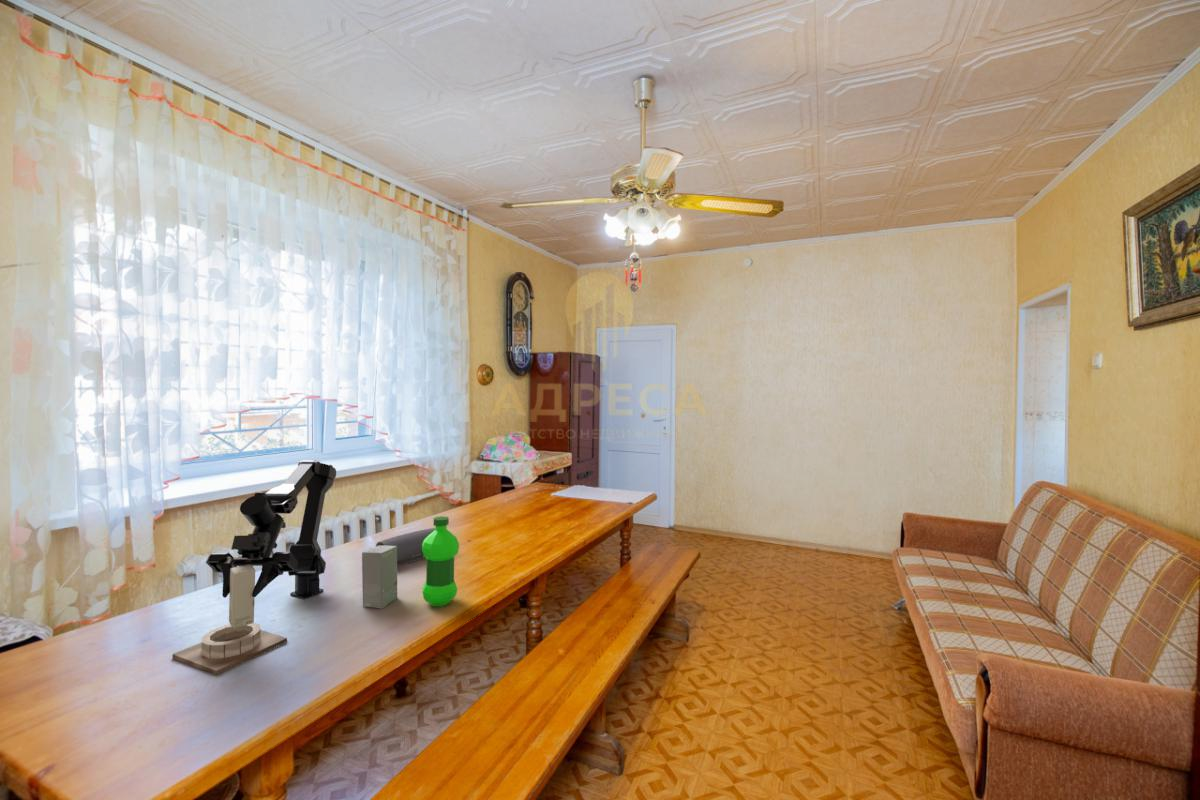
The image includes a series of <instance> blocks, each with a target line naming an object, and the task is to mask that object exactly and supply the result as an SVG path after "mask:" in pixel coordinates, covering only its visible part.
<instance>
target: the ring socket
mask: <svg viewBox="0 0 1200 800" xmlns="http://www.w3.org/2000/svg"><path fill="white" fill-rule="evenodd" d="M285 642H286V643H288V637H285V636H281V635H280V634H275V633H272V632H269V631H266V630H263V629H261V625H260V623H256V622H254V623H252V624H248V625H244V626H240V627H236V628H232V627H231V625H230V624H226V625H222V626H219V627H217V628H215V629H211V630H210V631H208V632H207V633H206V634H204V635H203V636H202V637H201V642H199V643H197V644H196V643H195V644H194V645H191V646H189V647H186V648H184V649H181V650H179V651H176V652H174V653H172V659H173V660H176V661H178V662H181V663H183V664H186V665H189V666H191V667H194V668H196V669H199V670H202V671H204V672H207V673H209V674H212V675H214V676H218V675H219V674H222V673H224V672H226V671H229V670H231V669H233V668H235V667H237V666H239V665H241V664H243V662H244V663H245V662H248V661H249V660H252V659H254V658H257V657H258V656H261V655H263V654H264V652H265V653H266V652H269V651H270V649H271V650H273V649H275V648H277V647H279V646H278V645H280V646H282V645H284V644H286V643H285ZM283 643H284V644H283ZM281 644H282V645H281ZM276 646H277V647H276ZM274 647H275V648H274ZM262 653H263V654H262Z"/></svg>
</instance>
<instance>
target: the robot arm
mask: <svg viewBox="0 0 1200 800" xmlns="http://www.w3.org/2000/svg"><path fill="white" fill-rule="evenodd" d="M336 469H337V468H335V467H334V466H333V465H332V464H326V463H323V462H320V461H317V460H303V459H302V460H301V461H299V462H298V464H297V467H296V468H295V469H294V470H293V471H292V472H291V473H290V475H289V476H288V477H287V478H286V479H285V481H284V482H283V483H282V484H280V485H279V486H276V487H273V488H270V489H269V490H268V491H267V492H264V491H256V492H255V493H254V495H252V496H250V497H248V498H246V499H245V500H243V502H241V504H240V506H239V510H240V511H239V512H240V513H241V514H242V515H243V517H244V518H245V520H247V521H248V522H249V524H250V525H251V526H253V528H254V529H253V530H252V533H248V534H247V535H243V534H242V535H241V534H239V535H234V536H233V541H232V544H231V548H230V549H231V551H234V550H237V554H238V555H239V556H241V557H234V556H233V555H232V554H231V553H230V552H226V551H225V552H223V551H222V552H219V551H218V552H212V553H210V554H209V555H208V557H207V559H206V561H205V564H206V565H208V566H209V567H210V568H211V569H212V570H213V571H214V572H215V573H218V574H219V573H220V574H222V597H223V598H227V597H228V595H230V569H231V568H234V567H240V566H246V565H252V566H253V567H254V566H256V567H257V566H259V567H261V571H260V575H259V577H258V579H257V582H255V588H254V590H253V593H252V596H253V597H254V598H256V597H257V596H258V595H259V594H260V593H261V592H262V591H263V590H264V589H265V588H266V587H267V586H268V585H269V584H270V583H271V582H273V581H274V580H275V579H276V578H277V577H279V576H282V575H284V573H287V574H288V576H289V577H292V576H295V577H294V584H295V585H294V591H293V592H290V593H289V594H290V596H293V597H295V598H296V597H297V598H300V599H307V598H310V597H312V596H315V595H318V594H320V593H323V592H324V588H320V580H321V579H320V575H322V574H324V573H325V571H326V568H327V567H326V564H327V563H326V561H325V560H324V558H323V557H322V555H321V554H322V549H321V546H320V545H319V542H318V538H319V537H318V536H319V531H320V526H321V521H322V520H321V519H322V514H323V508H324V504H325V502H324V501H325V497H326V494H327V493H328V491H329V490H330V489H331V488H332V487H333V484H334V480H335V479H336V477H337V470H336ZM305 487H306V490H307V495H306V501H305V506H304V512H303V518H302V521H301V522H302V523H301V527H300V533H299V537H298V540H297V541H296V542H295V543H294V544H292V545H290V548H289V551H275V552H273V549H277V547H278V544H277V540H278V537H279V535H280V532H281V529H285V528H286V527H287V525H286V522H285V520H284V519H285V518H284V517H282V516H281V515H288V514H292V512H293V511H294V510H295V509H296V508H297V505H298V503H299V501H298V495H300V493H301V492H302V490H303V489H304V488H305ZM272 552H273V554H272Z"/></svg>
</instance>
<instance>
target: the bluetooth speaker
mask: <svg viewBox="0 0 1200 800" xmlns="http://www.w3.org/2000/svg"><path fill="white" fill-rule="evenodd" d="M434 530H435V527H433V528H432V527H431V528H426V529H420V530H416V531H415V530H414V531H412V532H408V533H404V534H400V535H395V536H391V537H388V538H386V539H382V540H381V541H378V542H377V543H376V544H375V547H376V546H379V545H385V546H397V566H399V565H403V564H404V565H405V564H408V563H412V562H415V561H419V560H421V559H423V558H425V557H424V555H423V550H422V543H423V541H424V539H425V538H426V537H427V536H428V535H430V534H431V533H432V532H433V531H434Z"/></svg>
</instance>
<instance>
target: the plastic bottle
mask: <svg viewBox="0 0 1200 800" xmlns="http://www.w3.org/2000/svg"><path fill="white" fill-rule="evenodd" d="M449 520H450V519H449V516H436V517H434V518H433V526H434V528H435V530H434V531H433V532H432V533H431V534H430V535H428V536H427V537H426V538H425V539H424V541H423V543H422V550H423V555H424V557H423V558H425V559H426V570H425V571H426V575H425V576H426V577H425V579H426V581H425V583H424V584H423V587H422V595H423V596H422V597H423V600H424V601H425V602H426V603H428V604H429V605H430V606H431V605H433V606H432V607H434V606H441V607H443V606H442V605H445V606H447V605H448V604H449V603H450V602H451V601H452V600H454V598H455V597H456V595H457V593H458V587H457V583H456V581H455V557H456V556H457V555H458V553H459V550H460V543H459V541H458V537H457V536H456V535H455V534H453V532H451V531H450V530H448V529H447V528H448V527H447V526H448V525H449ZM447 603H448V604H447ZM446 604H447V605H446Z"/></svg>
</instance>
